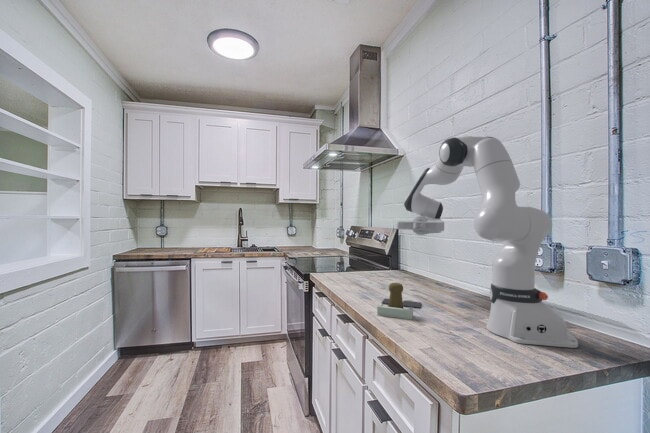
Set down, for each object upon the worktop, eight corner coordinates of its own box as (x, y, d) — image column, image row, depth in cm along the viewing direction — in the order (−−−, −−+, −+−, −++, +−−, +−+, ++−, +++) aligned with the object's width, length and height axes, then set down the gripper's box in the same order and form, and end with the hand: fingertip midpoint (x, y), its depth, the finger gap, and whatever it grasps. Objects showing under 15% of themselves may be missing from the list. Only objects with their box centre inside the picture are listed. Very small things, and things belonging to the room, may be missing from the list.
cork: (402, 310, 110) (402, 281, 110) (405, 316, 104) (405, 285, 104) (386, 310, 111) (386, 281, 111) (388, 315, 105) (388, 284, 105)
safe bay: (413, 315, 105) (413, 307, 105) (411, 319, 100) (411, 310, 100) (379, 311, 109) (379, 303, 109) (377, 314, 105) (377, 306, 105)
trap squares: (421, 303, 120) (421, 302, 120) (419, 308, 113) (419, 307, 113) (384, 299, 125) (384, 298, 125) (381, 303, 119) (381, 302, 119)
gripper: (398, 218, 140) (393, 218, 127) (444, 218, 132) (444, 218, 120) (398, 231, 140) (393, 232, 127) (444, 232, 132) (444, 234, 119)
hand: (418, 225), depth 123 cm, fingers closed
